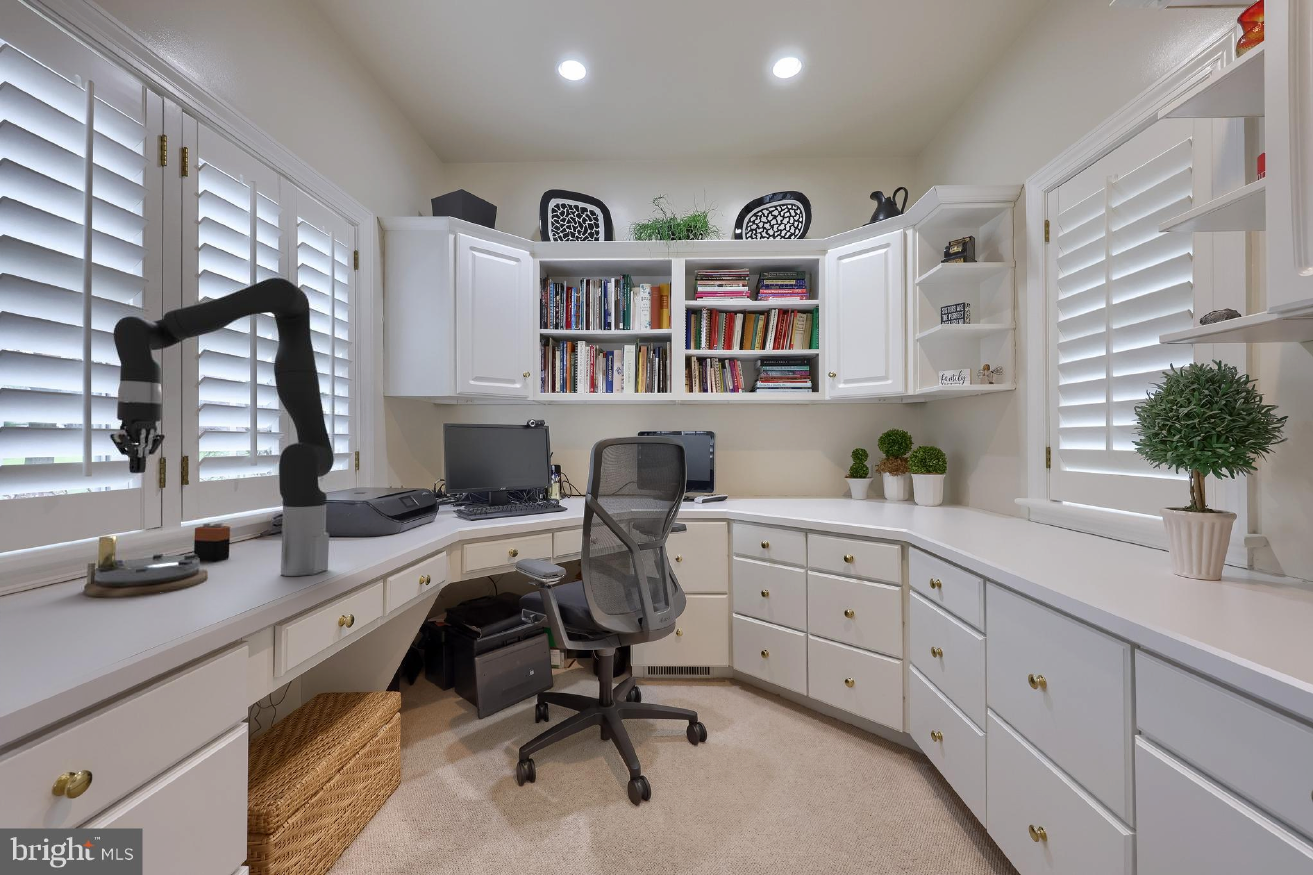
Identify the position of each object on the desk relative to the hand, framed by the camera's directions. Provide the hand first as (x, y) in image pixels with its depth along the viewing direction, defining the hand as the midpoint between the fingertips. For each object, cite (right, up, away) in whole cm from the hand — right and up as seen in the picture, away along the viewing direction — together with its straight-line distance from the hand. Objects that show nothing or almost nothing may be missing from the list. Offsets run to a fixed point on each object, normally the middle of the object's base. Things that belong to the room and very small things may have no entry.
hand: (137, 472), depth 124 cm
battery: (+2, -26, +18) cm, 31 cm away
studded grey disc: (+10, -23, -7) cm, 26 cm away
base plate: (+10, -25, -7) cm, 28 cm away
